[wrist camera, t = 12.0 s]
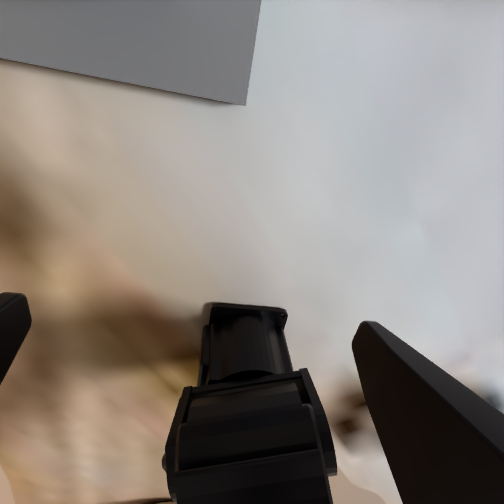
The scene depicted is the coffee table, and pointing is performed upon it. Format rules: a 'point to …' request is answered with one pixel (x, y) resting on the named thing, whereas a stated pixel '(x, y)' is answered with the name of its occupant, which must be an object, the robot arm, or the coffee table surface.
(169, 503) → the canister
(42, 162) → the coffee table surface
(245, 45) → the pin plate
